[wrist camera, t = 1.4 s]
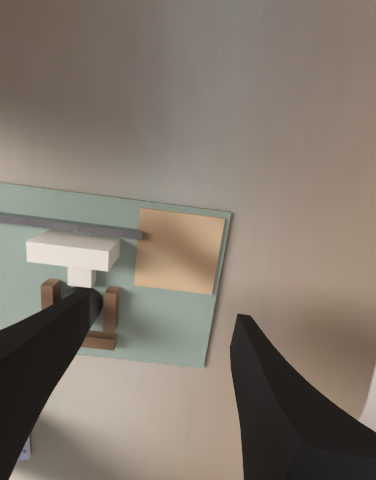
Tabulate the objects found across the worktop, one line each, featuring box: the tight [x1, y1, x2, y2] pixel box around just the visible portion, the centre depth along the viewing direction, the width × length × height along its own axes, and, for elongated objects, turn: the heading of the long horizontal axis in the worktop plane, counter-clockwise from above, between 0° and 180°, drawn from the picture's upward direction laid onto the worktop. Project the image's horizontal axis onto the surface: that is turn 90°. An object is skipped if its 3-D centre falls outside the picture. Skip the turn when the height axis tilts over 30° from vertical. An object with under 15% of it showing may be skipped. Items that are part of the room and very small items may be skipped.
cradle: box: [41, 278, 120, 351], centre depth 24 cm, size 6×6×1 cm
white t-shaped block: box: [26, 230, 121, 288], centre depth 21 cm, size 4×6×3 cm
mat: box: [0, 182, 231, 368], centre depth 24 cm, size 16×26×1 cm, turn 83°
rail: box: [0, 212, 144, 240], centre depth 21 cm, size 1×16×1 cm, turn 83°
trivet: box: [134, 207, 225, 295], centre depth 22 cm, size 7×7×1 cm
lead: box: [62, 286, 103, 332], centre depth 21 cm, size 3×3×7 cm
